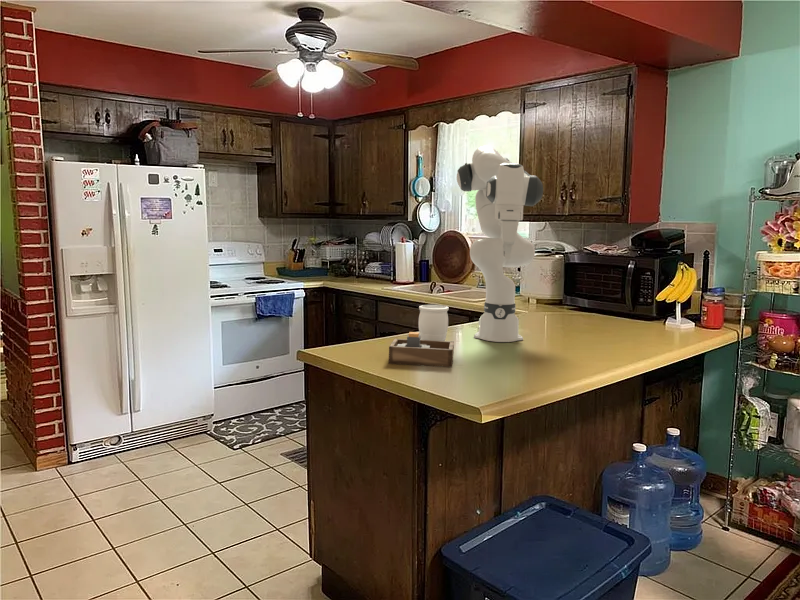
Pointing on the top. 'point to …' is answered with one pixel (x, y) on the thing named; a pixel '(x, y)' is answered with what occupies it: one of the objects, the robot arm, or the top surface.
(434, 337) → the jar
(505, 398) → the top surface
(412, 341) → the block
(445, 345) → the box
